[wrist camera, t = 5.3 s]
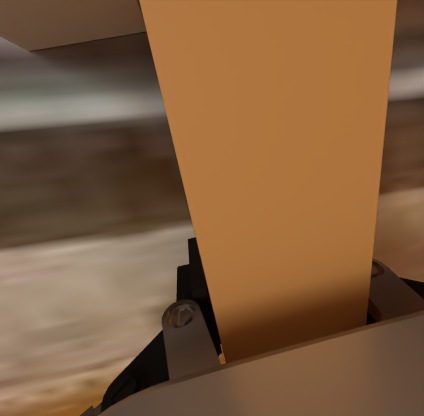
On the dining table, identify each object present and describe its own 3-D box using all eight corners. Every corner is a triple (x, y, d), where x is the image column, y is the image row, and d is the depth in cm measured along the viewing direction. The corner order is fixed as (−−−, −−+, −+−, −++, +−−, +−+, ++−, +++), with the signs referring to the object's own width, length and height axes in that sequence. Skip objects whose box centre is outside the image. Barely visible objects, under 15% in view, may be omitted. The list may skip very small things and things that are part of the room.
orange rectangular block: (258, 15, 8) (418, -222, 3) (280, 271, 13) (359, 384, 7) (154, 33, 8) (94, -189, 2) (213, 287, 12) (239, 419, 7)
